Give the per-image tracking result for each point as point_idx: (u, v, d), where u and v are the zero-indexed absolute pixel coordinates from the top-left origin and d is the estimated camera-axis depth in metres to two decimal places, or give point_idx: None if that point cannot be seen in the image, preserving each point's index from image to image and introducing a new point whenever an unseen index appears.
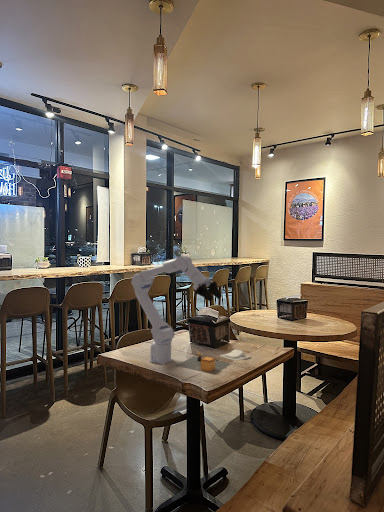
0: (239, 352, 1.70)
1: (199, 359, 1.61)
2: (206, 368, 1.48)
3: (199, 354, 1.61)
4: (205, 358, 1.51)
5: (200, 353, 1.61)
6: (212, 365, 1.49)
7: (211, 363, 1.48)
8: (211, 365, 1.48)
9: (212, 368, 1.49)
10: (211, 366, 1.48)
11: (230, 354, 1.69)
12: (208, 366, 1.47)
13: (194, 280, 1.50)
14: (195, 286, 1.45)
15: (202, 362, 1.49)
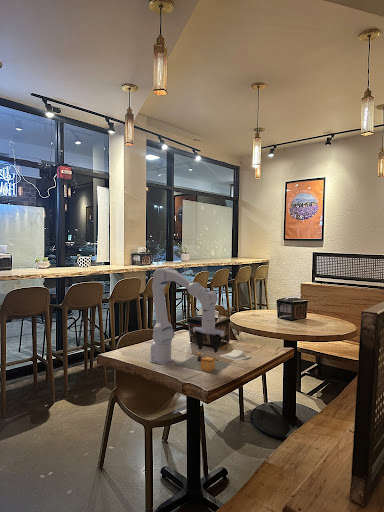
0: (239, 352, 1.70)
1: (199, 359, 1.61)
2: (206, 368, 1.48)
3: (199, 354, 1.61)
4: (205, 358, 1.51)
5: (200, 353, 1.61)
6: (212, 365, 1.49)
7: (211, 363, 1.48)
8: (211, 365, 1.48)
9: (212, 368, 1.49)
10: (211, 366, 1.48)
11: (230, 354, 1.68)
12: (208, 366, 1.47)
13: None
14: None
15: (202, 362, 1.49)
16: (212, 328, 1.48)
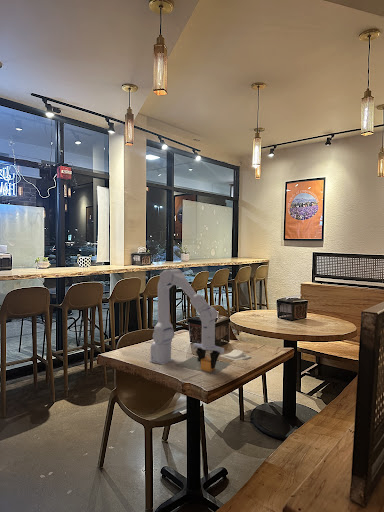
0: (239, 352, 1.70)
1: None
2: (206, 368, 1.48)
3: None
4: (205, 358, 1.51)
5: None
6: None
7: None
8: None
9: None
10: None
11: (230, 354, 1.68)
12: (208, 366, 1.47)
13: None
14: None
15: (202, 362, 1.49)
16: (212, 345, 1.48)
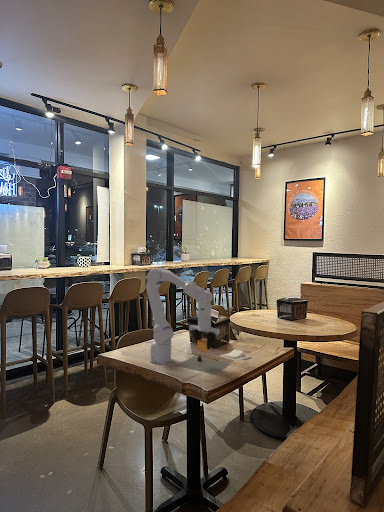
0: (239, 352, 1.70)
1: (199, 359, 1.61)
2: (202, 349, 1.53)
3: (199, 354, 1.61)
4: (201, 339, 1.55)
5: (200, 353, 1.61)
6: None
7: None
8: None
9: None
10: None
11: (230, 354, 1.68)
12: (204, 347, 1.52)
13: None
14: None
15: (198, 343, 1.54)
16: (208, 326, 1.53)
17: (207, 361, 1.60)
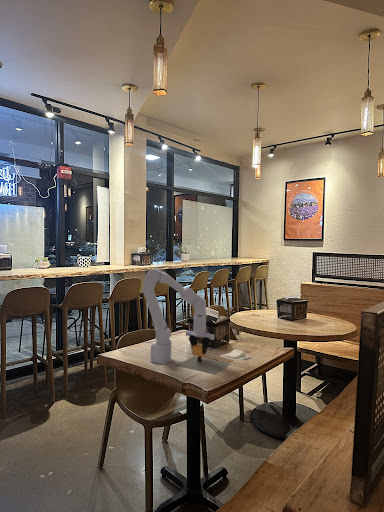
0: (239, 352, 1.70)
1: (199, 359, 1.61)
2: (197, 354, 1.60)
3: None
4: (197, 344, 1.62)
5: None
6: None
7: (202, 349, 1.60)
8: None
9: None
10: None
11: (230, 354, 1.68)
12: (200, 351, 1.59)
13: None
14: None
15: (194, 348, 1.61)
16: (203, 332, 1.59)
17: (207, 361, 1.60)
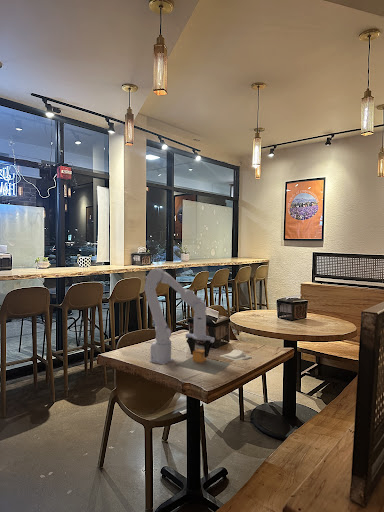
0: (239, 352, 1.70)
1: None
2: (197, 360, 1.60)
3: None
4: (197, 350, 1.62)
5: None
6: (204, 357, 1.61)
7: (202, 355, 1.60)
8: (202, 356, 1.60)
9: (203, 359, 1.60)
10: (203, 358, 1.60)
11: (230, 354, 1.68)
12: (199, 357, 1.59)
13: None
14: None
15: (194, 354, 1.61)
16: (203, 334, 1.59)
17: (207, 361, 1.60)
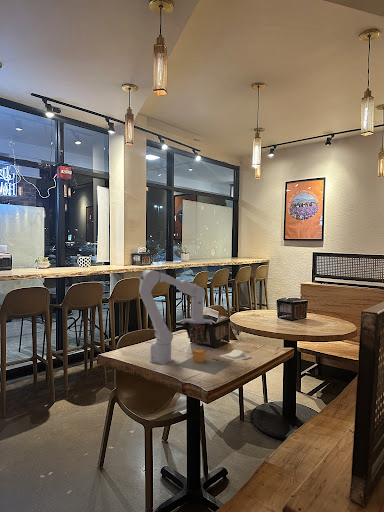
0: (239, 352, 1.70)
1: None
2: (197, 360, 1.60)
3: None
4: (197, 350, 1.62)
5: None
6: (204, 357, 1.61)
7: (202, 355, 1.60)
8: (202, 356, 1.60)
9: (203, 359, 1.60)
10: (203, 358, 1.60)
11: (230, 354, 1.68)
12: (199, 357, 1.59)
13: None
14: None
15: (194, 354, 1.61)
16: (202, 318, 1.68)
17: (207, 361, 1.60)
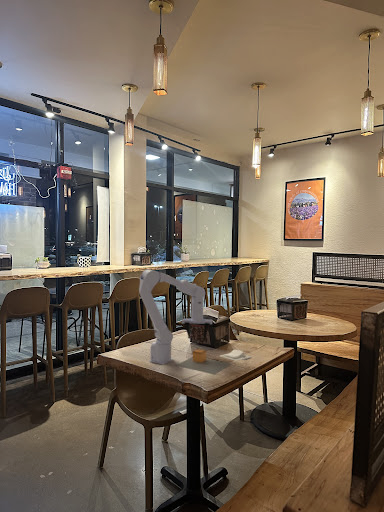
0: (239, 352, 1.70)
1: None
2: (197, 360, 1.60)
3: None
4: (197, 350, 1.62)
5: None
6: (204, 357, 1.61)
7: (202, 355, 1.60)
8: (202, 356, 1.60)
9: (203, 359, 1.60)
10: (203, 358, 1.60)
11: (230, 354, 1.68)
12: (199, 357, 1.59)
13: None
14: None
15: (194, 354, 1.61)
16: (202, 318, 1.68)
17: (207, 361, 1.60)
